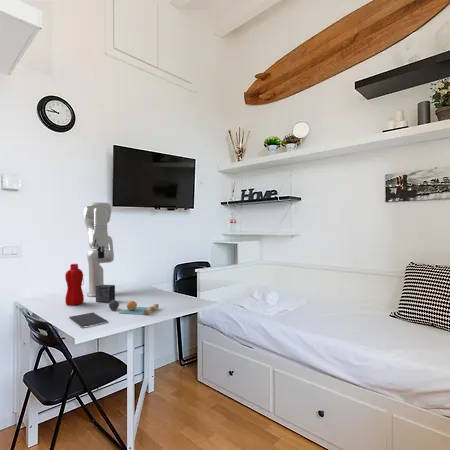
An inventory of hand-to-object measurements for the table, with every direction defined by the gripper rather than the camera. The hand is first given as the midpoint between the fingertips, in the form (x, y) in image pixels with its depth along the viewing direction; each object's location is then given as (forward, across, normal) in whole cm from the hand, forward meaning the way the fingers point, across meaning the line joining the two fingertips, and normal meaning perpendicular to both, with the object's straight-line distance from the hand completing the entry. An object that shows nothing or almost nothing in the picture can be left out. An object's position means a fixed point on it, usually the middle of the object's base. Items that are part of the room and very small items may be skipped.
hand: (101, 258), depth 195 cm
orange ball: (+26, +6, +24) cm, 36 cm away
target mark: (+29, +6, +27) cm, 40 cm away
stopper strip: (+29, +6, +36) cm, 47 cm away
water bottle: (+29, -1, -19) cm, 35 cm away
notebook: (+30, +28, +11) cm, 42 cm away
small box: (+29, -10, -4) cm, 31 cm away
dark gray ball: (+26, +6, +12) cm, 30 cm away
